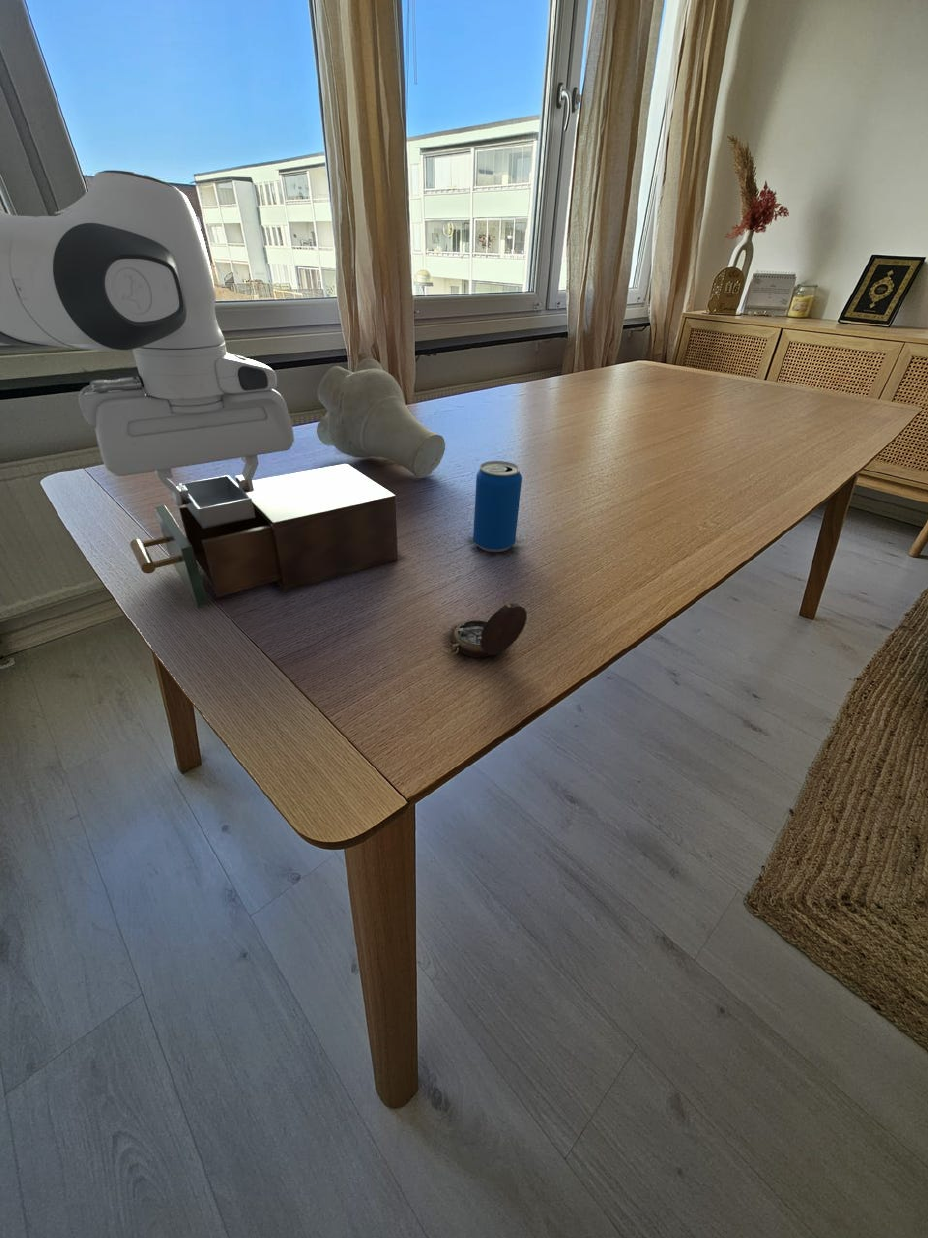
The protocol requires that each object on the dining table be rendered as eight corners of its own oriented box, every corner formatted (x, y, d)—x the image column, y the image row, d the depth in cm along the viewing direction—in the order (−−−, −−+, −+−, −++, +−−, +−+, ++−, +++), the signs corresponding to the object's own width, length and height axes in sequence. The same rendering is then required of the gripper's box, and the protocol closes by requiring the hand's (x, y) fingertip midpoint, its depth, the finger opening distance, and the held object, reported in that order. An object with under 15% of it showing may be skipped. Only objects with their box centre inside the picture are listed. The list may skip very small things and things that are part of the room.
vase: (496, 406, 100) (392, 345, 110) (420, 405, 83) (307, 334, 93) (458, 508, 112) (368, 445, 122) (385, 524, 96) (288, 451, 105)
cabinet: (285, 592, 68) (273, 522, 63) (247, 547, 78) (234, 483, 72) (398, 559, 77) (395, 495, 71) (351, 522, 86) (346, 463, 81)
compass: (478, 620, 65) (482, 567, 61) (525, 652, 60) (532, 598, 56) (425, 644, 60) (426, 590, 56) (472, 681, 56) (475, 625, 52)
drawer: (160, 618, 61) (139, 558, 56) (137, 569, 70) (117, 513, 65) (321, 572, 71) (314, 518, 66) (283, 534, 80) (275, 484, 75)
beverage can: (522, 550, 81) (531, 472, 74) (484, 557, 78) (490, 477, 71) (502, 532, 85) (508, 457, 78) (465, 538, 83) (469, 462, 76)
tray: (202, 528, 61) (197, 509, 60) (183, 502, 67) (178, 483, 66) (255, 517, 64) (251, 498, 63) (232, 492, 70) (228, 475, 69)
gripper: (75, 388, 49) (123, 525, 57) (289, 370, 60) (305, 489, 68) (67, 375, 53) (114, 505, 61) (269, 361, 64) (287, 474, 72)
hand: (216, 496), depth 65 cm, fingers closed on tray, 6 cm apart
